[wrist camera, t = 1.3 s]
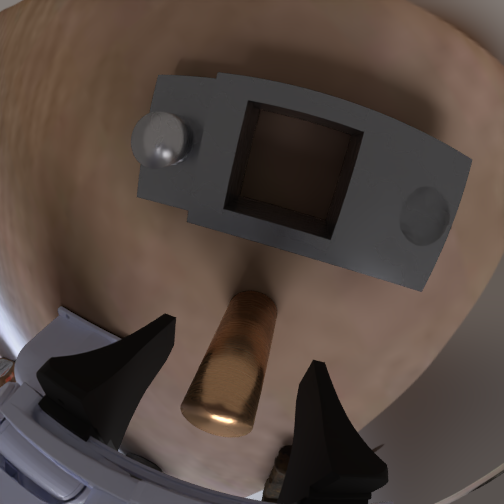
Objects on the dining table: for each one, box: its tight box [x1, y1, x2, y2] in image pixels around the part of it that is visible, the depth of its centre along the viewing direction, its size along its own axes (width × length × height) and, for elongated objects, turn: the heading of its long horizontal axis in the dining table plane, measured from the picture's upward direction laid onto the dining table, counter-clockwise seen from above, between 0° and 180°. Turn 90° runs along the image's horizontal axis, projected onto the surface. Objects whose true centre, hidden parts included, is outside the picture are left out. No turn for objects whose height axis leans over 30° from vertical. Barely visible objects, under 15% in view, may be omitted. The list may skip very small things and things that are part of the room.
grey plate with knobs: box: [131, 72, 472, 292], centre depth 11 cm, size 15×7×3 cm, turn 77°
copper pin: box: [181, 291, 277, 437], centre depth 13 cm, size 3×3×8 cm
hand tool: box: [262, 446, 292, 503], centre depth 24 cm, size 19×4×5 cm, turn 172°
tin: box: [0, 357, 16, 387], centre depth 31 cm, size 15×3×8 cm, turn 107°
